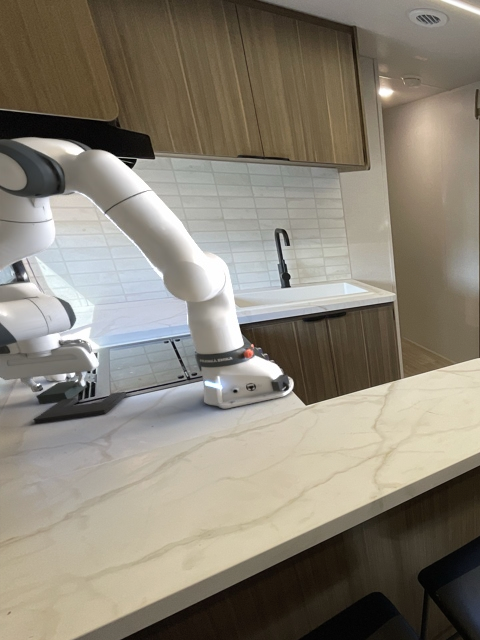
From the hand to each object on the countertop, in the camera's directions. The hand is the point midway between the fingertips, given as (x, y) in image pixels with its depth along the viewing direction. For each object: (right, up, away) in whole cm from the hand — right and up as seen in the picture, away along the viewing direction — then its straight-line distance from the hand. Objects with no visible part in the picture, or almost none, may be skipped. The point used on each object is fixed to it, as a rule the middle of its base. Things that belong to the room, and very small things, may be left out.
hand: (60, 388), depth 114 cm
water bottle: (-13, +3, +12) cm, 18 cm away
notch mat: (+14, -5, -7) cm, 17 cm away
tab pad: (0, -2, +1) cm, 2 cm away
